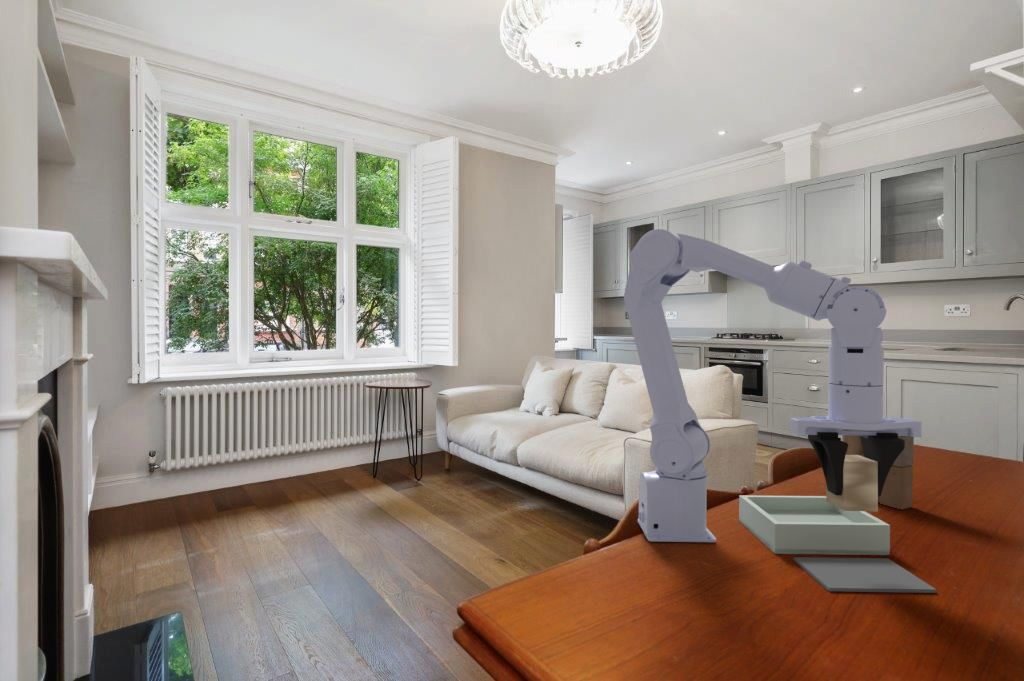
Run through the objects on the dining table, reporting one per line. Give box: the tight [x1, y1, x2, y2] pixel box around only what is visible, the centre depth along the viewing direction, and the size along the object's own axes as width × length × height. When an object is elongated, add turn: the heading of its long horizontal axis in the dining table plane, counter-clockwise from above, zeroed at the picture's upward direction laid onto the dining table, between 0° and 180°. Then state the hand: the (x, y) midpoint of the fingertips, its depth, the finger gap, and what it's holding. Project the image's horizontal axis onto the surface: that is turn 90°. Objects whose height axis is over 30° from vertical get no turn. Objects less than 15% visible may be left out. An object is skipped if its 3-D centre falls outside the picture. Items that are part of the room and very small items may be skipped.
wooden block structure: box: [841, 429, 915, 511], centre depth 92 cm, size 4×11×18 cm, turn 27°
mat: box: [793, 556, 937, 594], centre depth 64 cm, size 12×8×1 cm, turn 88°
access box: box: [738, 494, 891, 556], centre depth 76 cm, size 15×12×4 cm
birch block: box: [825, 455, 879, 513], centre depth 66 cm, size 4×4×6 cm
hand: (853, 493), depth 66 cm, fingers closed on birch block, 4 cm apart
